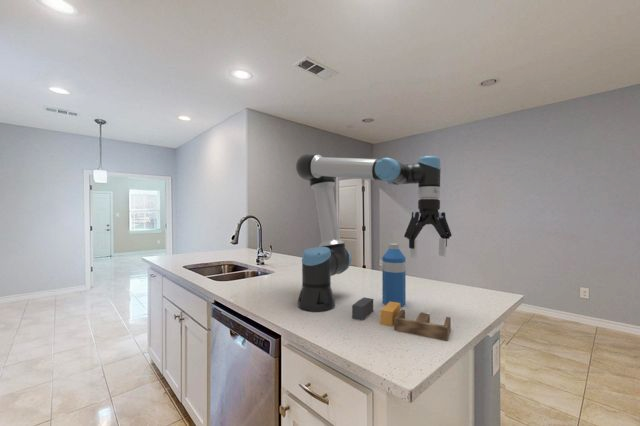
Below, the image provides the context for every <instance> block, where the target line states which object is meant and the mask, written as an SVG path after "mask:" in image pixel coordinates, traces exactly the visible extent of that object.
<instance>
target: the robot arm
mask: <svg viewBox="0 0 640 426" xmlns="http://www.w3.org/2000/svg"><path fill="white" fill-rule="evenodd" d="M295 164H296V165H295V171H296V173H297V175H298V176H299V177H300V178H301V179H303V180H306V181H309V186H310V189H311V190H313V191H314V197H315V204H316V210H317V211H316V212H317V217H318V225H319V231H320V232H319V233H320V238H321V239H320V240H321V243H320V244H319V245H318V246H315V247H309V248H306V249H305V250H304V251H303V252H302V258H301V264H302V266H301V269H302V272H301V276H302V277H301V283H302V285H301V290H300V293H299V296H298V300H297V307H298V308H299V309H301V310H303V311H307V312H325V311H329V310H332V309H334V308H335V307H336V299H335V297H334V293H333V289H332V286H331V284H332V282H331V277H332V276H335V275H340V274H342V273H344V272H345V271H347V270H348V269H349V268H350V267H351V264H352V255H351V252H350V251H349V250H348V249H347V247H346V244H345V242H344V241H343V240H342V239H341V234H340V228H339V220H338V215H337V207H336V202H335V196H334V195H335V194H334V189H333V188H334V187H335V186H336V179H337V178H343V179H345V178H347V179H359V180H360V179H361V180H374V181H385V182H387V183H388V184H389V185H396V186H399V185H407V184H408V185H410V184H418V187H417V189H418V191H417V193H418V194H417V198H418V200H417V208H418V210H419V211H412V212H411V218H410V221H409V223H408V226H407V228H406V230H405V233H404V236H403V237H404V238H405V239H407V240H408V244H409V245H408V248H409V251H410V253H409V254H410V255H409V257H410V258H413V259H418V239H417V237H418V235H419V234H420V233H421V231H422V230H423V228H424V227H425V226H426V225H432V226H433V227H434V230H436V232H437V234H438V235H439V238H438V256H439V257H440V256H441V257H447V246H448V240H449V239H450V238H451V237H452V231H451V229H450V227H449V224H448V220H447V219H446V212H445V211H444V212H443V211H441V212H440V211H439V210H441V200H440V198H441V169H442V168H441V159H440V157H438V156H437V155H425V156H421V157H419V158H418V162H417V163H408V164H407V163H402V162H400V161H398V160H396V159H394V158H393V157H392V158H391V157H383V158H358V157H356V158H355V157H352V158H351V157H324V156H322V155H321V154H313V153H305V154H302V155H301V156H299V157H298V159H297V160H296V163H295Z"/></svg>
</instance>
